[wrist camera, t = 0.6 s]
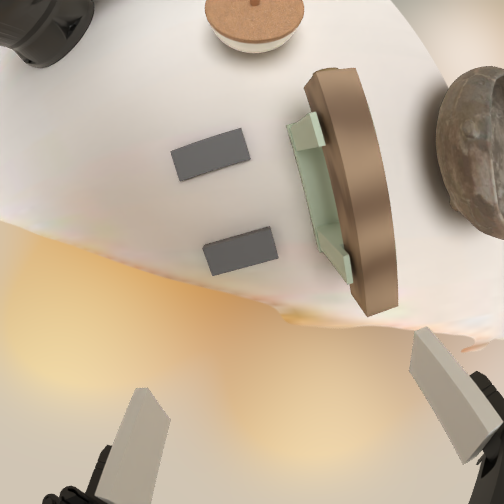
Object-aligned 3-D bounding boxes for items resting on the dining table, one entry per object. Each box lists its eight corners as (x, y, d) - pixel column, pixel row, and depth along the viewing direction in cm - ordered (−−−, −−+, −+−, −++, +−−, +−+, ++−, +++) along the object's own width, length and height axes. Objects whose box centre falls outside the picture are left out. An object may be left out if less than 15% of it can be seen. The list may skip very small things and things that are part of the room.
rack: (286, 125, 31) (305, 107, 20) (330, 116, 31) (368, 98, 19) (318, 250, 36) (346, 289, 25) (358, 238, 36) (398, 272, 25)
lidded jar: (202, 55, 28) (187, 24, 19) (227, -2, 24) (221, -39, 16) (282, 73, 29) (293, 45, 20) (302, 15, 25) (316, -20, 17)
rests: (173, 151, 32) (170, 151, 31) (241, 129, 31) (241, 127, 30) (213, 271, 37) (212, 276, 36) (277, 254, 37) (278, 258, 35)
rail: (301, 82, 22) (313, 65, 17) (335, 77, 21) (353, 61, 16) (351, 298, 29) (367, 322, 24) (378, 289, 28) (398, 310, 24)
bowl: (406, 220, 35) (472, 254, 21) (400, 62, 27) (462, 32, 13) (496, 222, 35) (551, 246, 21) (496, 99, 27) (551, 96, 13)
